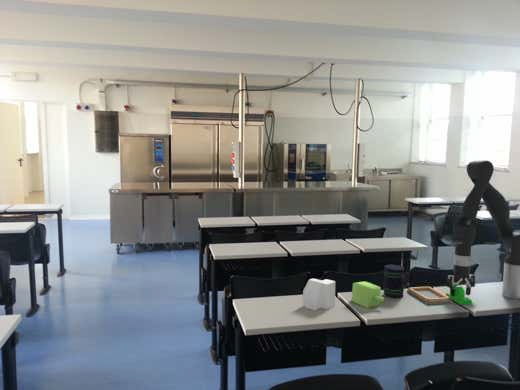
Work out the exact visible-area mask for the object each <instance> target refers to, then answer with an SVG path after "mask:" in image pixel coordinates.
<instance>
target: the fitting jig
mask: <svg viewBox="0 0 520 390" xmlns="http://www.w3.org/2000/svg"><path fill="white" fill-rule="evenodd" d="M406 292H407V293H408V294H411V295H412V296H413V297H415V298H416V299H419V300H421V302H423V303H425V304H426V305H428V306H434V305H436V306H437V305H449V304H451V305H452V301H451V299H450V297H448V296H446V294H444V293H443V292H440V291H438V290H436V289H435V288H433V287H431V286H429V285H428V286H416V287H413V286H412V287H408V288H407V290H406Z"/></svg>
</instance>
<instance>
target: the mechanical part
mask: <svg viewBox="0 0 520 390" xmlns="http://www.w3.org/2000/svg"><path fill="white" fill-rule="evenodd" d="M445 295H446V296H448V297H450V300H452V301H454V302H455V303H457V304H458V305H472V303H473V302H472V301H473V300H472V299H470V298H469V297H466V296H465V295H466V291H465V289H464V287H463V286H456V287H455V296H451V295H450V292H446V293H445Z"/></svg>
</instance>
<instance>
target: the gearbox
mask: <svg viewBox="0 0 520 390" xmlns="http://www.w3.org/2000/svg"><path fill="white" fill-rule="evenodd" d="M381 289H382V287H380V286H379V285H376V284H373V283H372V282H368V281H358V282H353V283H352V289H351V301H352V302H353V303H355V304H357V305H360V306H362V307H364V308H367V309H369V308H373V307H376V306H377V307H378V306H380V302H382V303H383V302H384V301H385V296H384V297H383V296H381V294H382V293H381V291H382V290H381Z"/></svg>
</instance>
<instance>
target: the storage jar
mask: <svg viewBox="0 0 520 390" xmlns="http://www.w3.org/2000/svg"><path fill="white" fill-rule="evenodd" d="M383 272H384V274H383V277H384V283H383V296H384V295H385V296H384V297H387V298H389V299H402V298H403V297H404V293H405V291H404V288H405V286H404V279H405V267H404V266H402V265H400V264H386V265H384V271H383Z"/></svg>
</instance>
